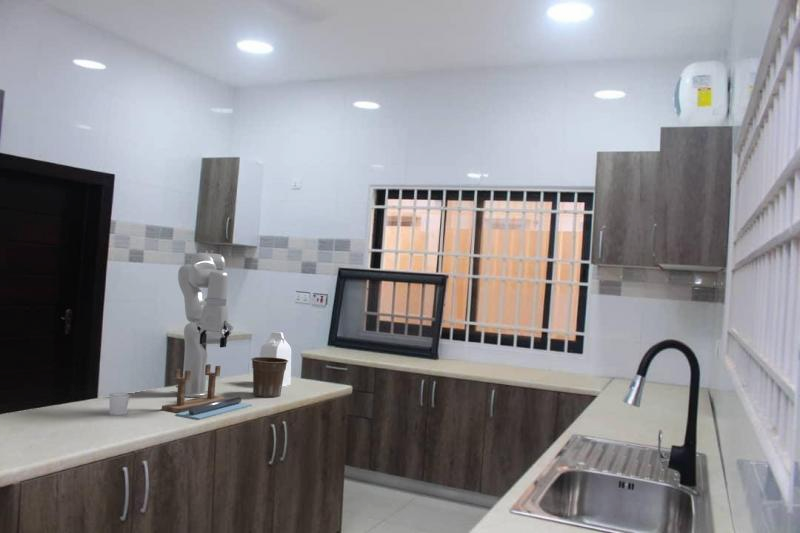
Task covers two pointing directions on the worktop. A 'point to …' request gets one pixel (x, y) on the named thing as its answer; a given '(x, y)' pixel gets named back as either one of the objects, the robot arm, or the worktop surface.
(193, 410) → the rod
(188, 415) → the mat
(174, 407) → the rack
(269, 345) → the milk
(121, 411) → the white cup
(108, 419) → the worktop surface
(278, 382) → the plant pot
